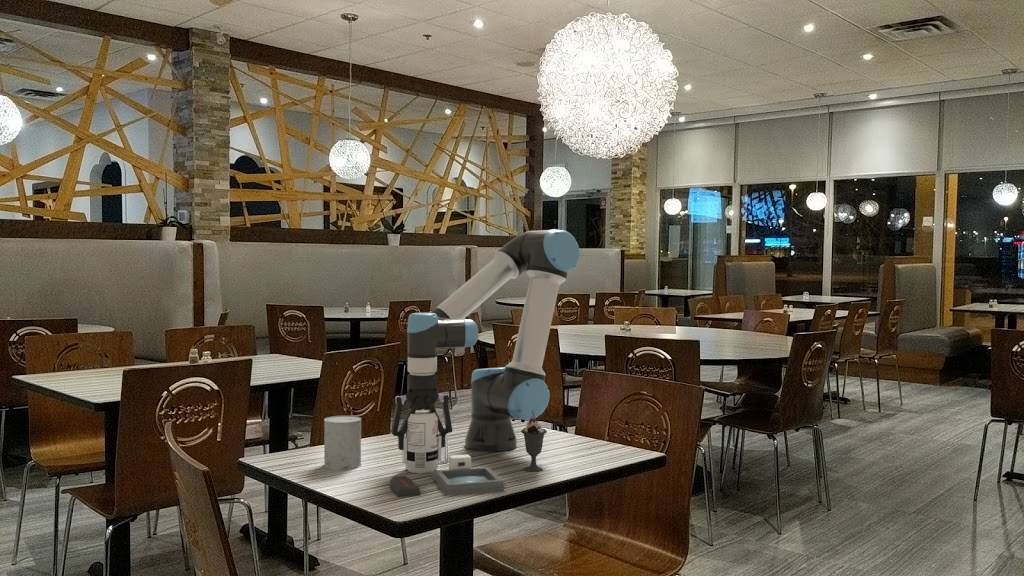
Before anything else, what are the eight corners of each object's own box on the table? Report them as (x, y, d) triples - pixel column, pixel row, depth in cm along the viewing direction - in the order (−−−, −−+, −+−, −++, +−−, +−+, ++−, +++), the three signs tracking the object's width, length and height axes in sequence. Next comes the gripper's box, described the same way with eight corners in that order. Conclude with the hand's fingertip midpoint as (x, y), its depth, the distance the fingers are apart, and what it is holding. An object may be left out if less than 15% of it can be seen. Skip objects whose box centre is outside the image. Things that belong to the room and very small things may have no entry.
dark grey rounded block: (398, 500, 184) (398, 488, 184) (386, 486, 195) (386, 475, 195) (420, 498, 186) (420, 486, 186) (407, 484, 197) (407, 473, 197)
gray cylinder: (352, 471, 207) (352, 423, 207) (317, 469, 209) (317, 421, 209) (366, 462, 217) (366, 416, 216) (333, 460, 219) (333, 414, 218)
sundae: (532, 464, 216) (533, 408, 215) (551, 469, 211) (552, 412, 210) (515, 469, 211) (515, 411, 211) (533, 474, 206) (534, 415, 206)
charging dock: (483, 472, 207) (484, 452, 207) (504, 491, 190) (504, 470, 190) (431, 476, 203) (431, 456, 203) (447, 496, 186) (447, 474, 186)
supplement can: (401, 467, 211) (402, 410, 211) (432, 464, 215) (432, 408, 214) (410, 475, 204) (410, 415, 203) (441, 472, 207) (442, 413, 207)
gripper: (458, 370, 215) (458, 455, 216) (378, 372, 209) (378, 460, 210) (465, 373, 208) (464, 462, 209) (383, 376, 202) (382, 467, 202)
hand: (421, 461), depth 209 cm, fingers closed on supplement can, 8 cm apart
